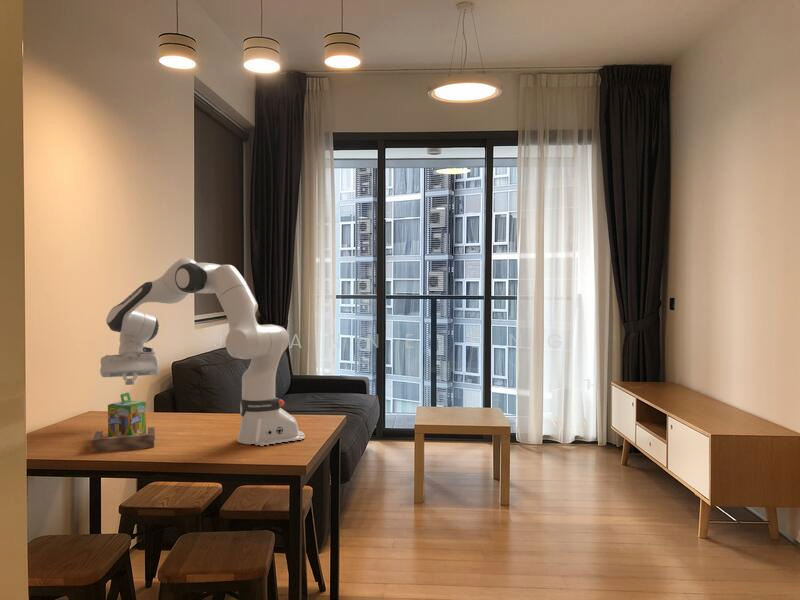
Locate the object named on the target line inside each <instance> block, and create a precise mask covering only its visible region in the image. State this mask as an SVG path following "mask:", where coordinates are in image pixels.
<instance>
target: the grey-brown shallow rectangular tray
mask: <svg viewBox="0 0 800 600" xmlns="http://www.w3.org/2000/svg"><path fill="white" fill-rule="evenodd" d="M155 430H156V428H155V427H154V426H152V427H151V426H149V427H148V428H147V433H145V434H142V435H130V436H117V437H108V436H107V437H104V435H103V433H104V432H103V430H99V431H95V433H94V435H93V436H92V438H91V453H92V452H94V453H103V451H106V452H115V451H116V450H117V451H126V450H139V449H148V448H147V447H151V448H155V442H154V441H155V440H156V437H155V436H156V435H155V433H156V431H155Z"/></svg>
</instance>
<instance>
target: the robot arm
mask: <svg viewBox="0 0 800 600" xmlns="http://www.w3.org/2000/svg"><path fill="white" fill-rule="evenodd" d="M189 294H215V295H216V297H217V299H218V301H219V304H220V306H221V308H222V310H223V311H224V314H225V316H226V318H227V322H228V326H229V327H228V329H229V332H228V333H227V336H226V337H225V338H226V339H225V349H226V351H227V353H228V354H229V355H230V356H231V357H232V358H235V359H241V360H251V361H250V362H249V365H248V367H247V369H246V370H245V371H244V372H243V374H242V377H241V398H240V405H239V409H240V410H239V411H240V413H239V414H240V415H241V417H240V426H239V432H238V436H237V439H236V441H237V443H239V444H244V445H251V444H255V445H254V446H258V445H260V446H259V447H265V446H264V445H267V446H270V445H269V444H274V445H276V444H275V443H281V442H288V441H295V440H301V439H304V438H306V435H305V433H304V432H303V431H301V430H299V426H298V421H297V420H296V418H295V417H294V416H293V415H292V414H290V413H289V412H287V411H286V410H284V409H283V408H281V407H284V405H285V401H284V400H283V399H281V398H279V397H276V381H277V380H276V377H277V371H278V366H279V363H280V360H281V357H282V355H283V353H284V352H285V351H286V350H287V348H288V347H289V344H290V335H289V333H288V331H287V329H285V328H284V326H281V325H277V324H271V323H270V324H259V323H258V322H257V318H256V313H257V311H258V308H259V304H258V302H257V300H256V298H255V296H254V294H253V293H252V291H251V289H250V287H249V285H248V283H247V281H246V280H245V278H244V277H243V275H242V274H241V273H240V271H239V270H238V269H237V268H236V267H235V266H234V265H232V264H222V263H212V262H211V263H210V262H197V261H196V260H194V259H192V258H191V257H181V258H180V259H178V260H176V261H175V262H174V263H173V264H172V265H171V266H170V267H168V269H167V270H166V271H164V273H163V275H161V276H160V277H158V278H157V279H154V280H151V281H146V282H144V283H143V284H142V285H140V286H139V287H137V288H136V289H135V290H134V291H133V292H132V293H130V295H128V296H127V297H126V298H124V300H122V301H121V302H120V303H118V304H117V305H115V306H114V307H112V308H111V309H110V310H109V312H108V314H107V316H106V319H105V320H106V324H107V327H109V329H110V331H112V332H117V333H119V343H120V344H119V347H118V354H112V355H111V354H108V355H105V356H103V357H102V356H101V358H100V370H99V371H100V376H101V377H103V378H117V377H118V378H119V377H120V378H121V377H122V379H123V381H124V384H125V386H127V385H128V386H129V385H131V386H132V385H135V381H136V380H137V379H138V378H139V376H140V377H141V376H142V377H143V376H158V375H159V374H160V363H159V362H160V361H159V357H158V356H157V355H156V354H157V353H156V349H155V347H154V348H153V347H149V346H146V345H145V346H144V344H146V343H148V342H150V341H152V340H154V339H155V337H156V336H157V335H158V333H159V329H160V327H159V326H160V325H159V320H158V318H157V317H156V316H155V315H152V314H150V313H146V312H142V311H139V310H137V309H138V308H139V307H140V306H142V305H143V304H145V303H161V304H168V305H169V304H176V303H180V302H181V301H182V300H184V299H185V298H186V297H187V296H188V295H189ZM128 377H131V378H128ZM304 440H305V439H304ZM301 441H302V440H301ZM295 442H296V441H295ZM288 443H289V442H288ZM281 444H282V443H281Z"/></svg>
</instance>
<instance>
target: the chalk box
mask: <svg viewBox="0 0 800 600" xmlns="http://www.w3.org/2000/svg"><path fill="white" fill-rule="evenodd" d="M125 397H126V398H127V399H126V400H125ZM120 399H121V401H117V402H114V403H110V404H108V405H107V432H108V433H107V434H108V435H107V437H117V436H130V435H142V434H144V433H145V434H147V406H146V405H147V402H146V401H142V400H140V401H139V400H131V399H132V398H131V395H130V393H129V392H125V393H121V394H120Z"/></svg>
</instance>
